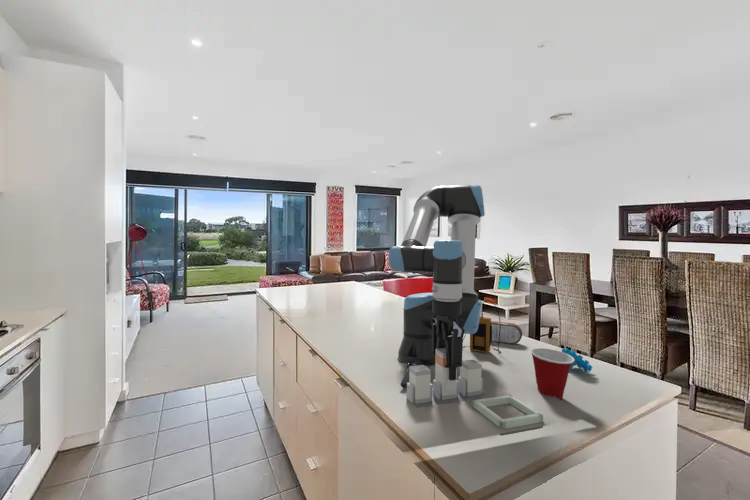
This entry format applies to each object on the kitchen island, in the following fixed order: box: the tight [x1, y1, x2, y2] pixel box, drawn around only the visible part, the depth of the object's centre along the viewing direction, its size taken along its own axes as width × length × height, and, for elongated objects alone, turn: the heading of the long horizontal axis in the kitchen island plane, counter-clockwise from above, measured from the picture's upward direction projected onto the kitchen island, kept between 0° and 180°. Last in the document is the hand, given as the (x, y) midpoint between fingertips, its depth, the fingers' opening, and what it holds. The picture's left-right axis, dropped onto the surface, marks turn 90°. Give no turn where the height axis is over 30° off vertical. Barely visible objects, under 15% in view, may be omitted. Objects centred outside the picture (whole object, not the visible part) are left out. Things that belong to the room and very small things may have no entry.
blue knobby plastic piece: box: [561, 347, 593, 373], centre depth 118 cm, size 11×6×10 cm
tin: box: [491, 320, 523, 345], centre depth 150 cm, size 15×3×8 cm, turn 65°
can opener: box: [400, 360, 421, 389], centre depth 105 cm, size 18×7×6 cm, turn 155°
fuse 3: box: [459, 359, 483, 396], centre depth 97 cm, size 4×4×8 cm
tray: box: [472, 394, 544, 437], centre depth 85 cm, size 11×11×3 cm
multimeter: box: [463, 300, 502, 354], centre depth 141 cm, size 15×10×20 cm
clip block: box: [404, 375, 488, 408], centre depth 95 cm, size 8×21×6 cm, turn 108°
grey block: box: [409, 365, 432, 404], centre depth 92 cm, size 4×4×8 cm
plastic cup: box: [530, 347, 575, 401], centre depth 98 cm, size 11×11×12 cm
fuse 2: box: [434, 348, 458, 400], centre depth 95 cm, size 4×4×12 cm
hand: (445, 387), depth 95 cm, fingers closed on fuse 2, 4 cm apart
